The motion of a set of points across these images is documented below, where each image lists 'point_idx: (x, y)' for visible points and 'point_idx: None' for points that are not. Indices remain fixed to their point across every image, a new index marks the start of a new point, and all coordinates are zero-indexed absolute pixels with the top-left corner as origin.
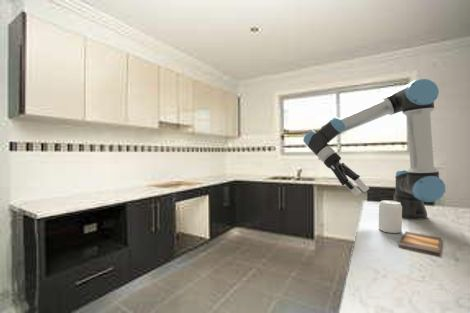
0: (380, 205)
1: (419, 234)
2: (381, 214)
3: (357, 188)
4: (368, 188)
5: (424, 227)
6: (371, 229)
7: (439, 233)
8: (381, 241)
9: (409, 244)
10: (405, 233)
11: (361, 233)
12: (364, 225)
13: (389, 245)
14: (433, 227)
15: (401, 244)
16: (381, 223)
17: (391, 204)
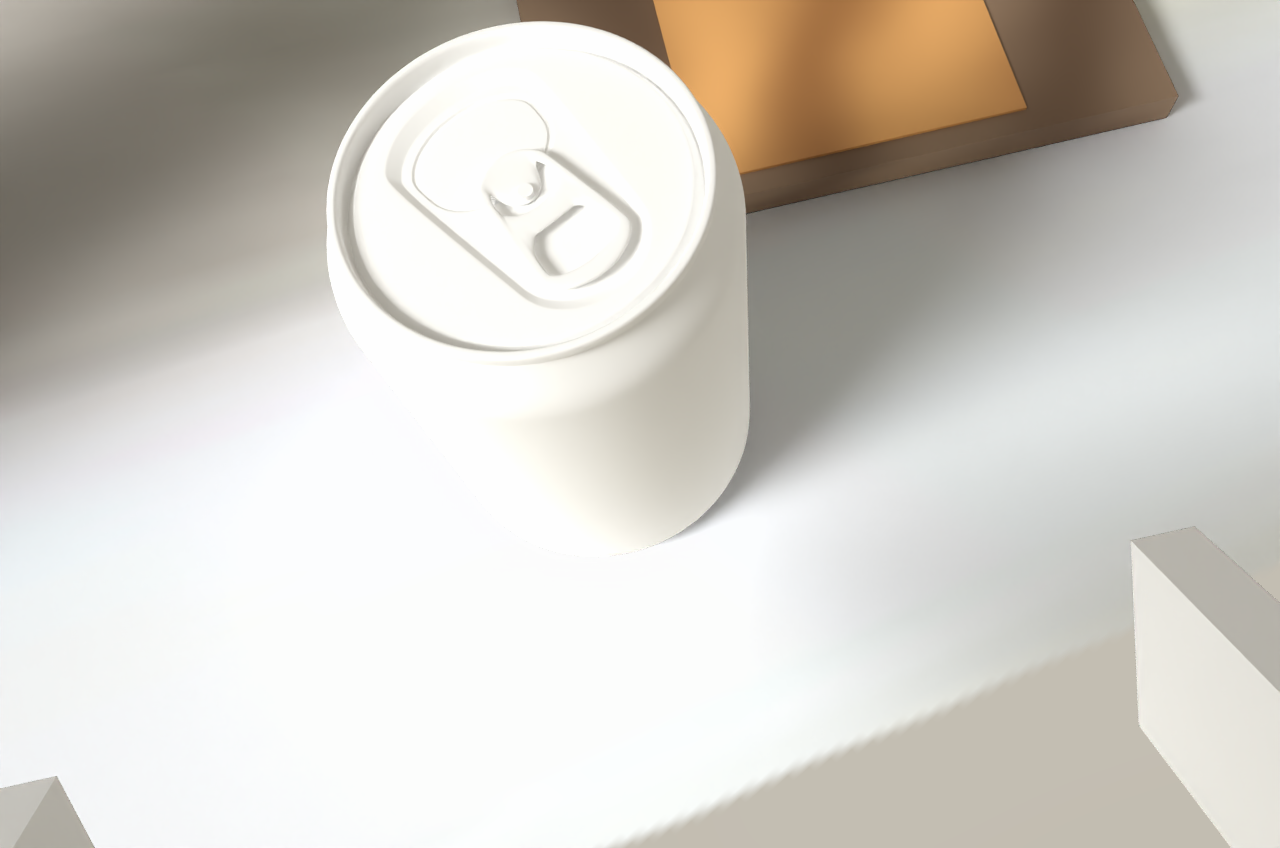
0: (696, 336)
1: None
2: (728, 380)
3: (1263, 642)
4: (48, 799)
5: (82, 221)
6: (761, 614)
7: (243, 54)
8: (1162, 304)
9: (1070, 38)
10: None
11: (1098, 618)
12: (635, 793)
13: (1210, 196)
14: (6, 163)
15: (1157, 80)
16: (735, 437)
17: (697, 104)
